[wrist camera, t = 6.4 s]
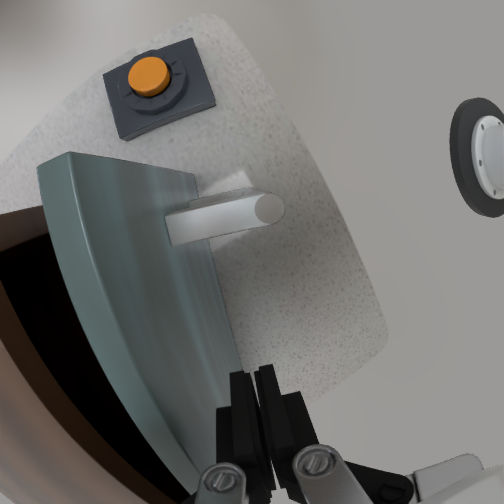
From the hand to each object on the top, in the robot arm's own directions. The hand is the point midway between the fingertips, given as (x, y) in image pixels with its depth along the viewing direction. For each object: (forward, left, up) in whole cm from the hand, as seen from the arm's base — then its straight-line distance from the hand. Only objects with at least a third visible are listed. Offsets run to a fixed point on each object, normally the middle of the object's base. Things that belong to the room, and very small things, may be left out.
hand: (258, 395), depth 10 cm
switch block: (+2, -20, -21) cm, 29 cm away
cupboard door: (+1, +4, -21) cm, 21 cm away
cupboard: (+15, +3, -21) cm, 26 cm away
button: (+2, -20, -17) cm, 26 cm away
